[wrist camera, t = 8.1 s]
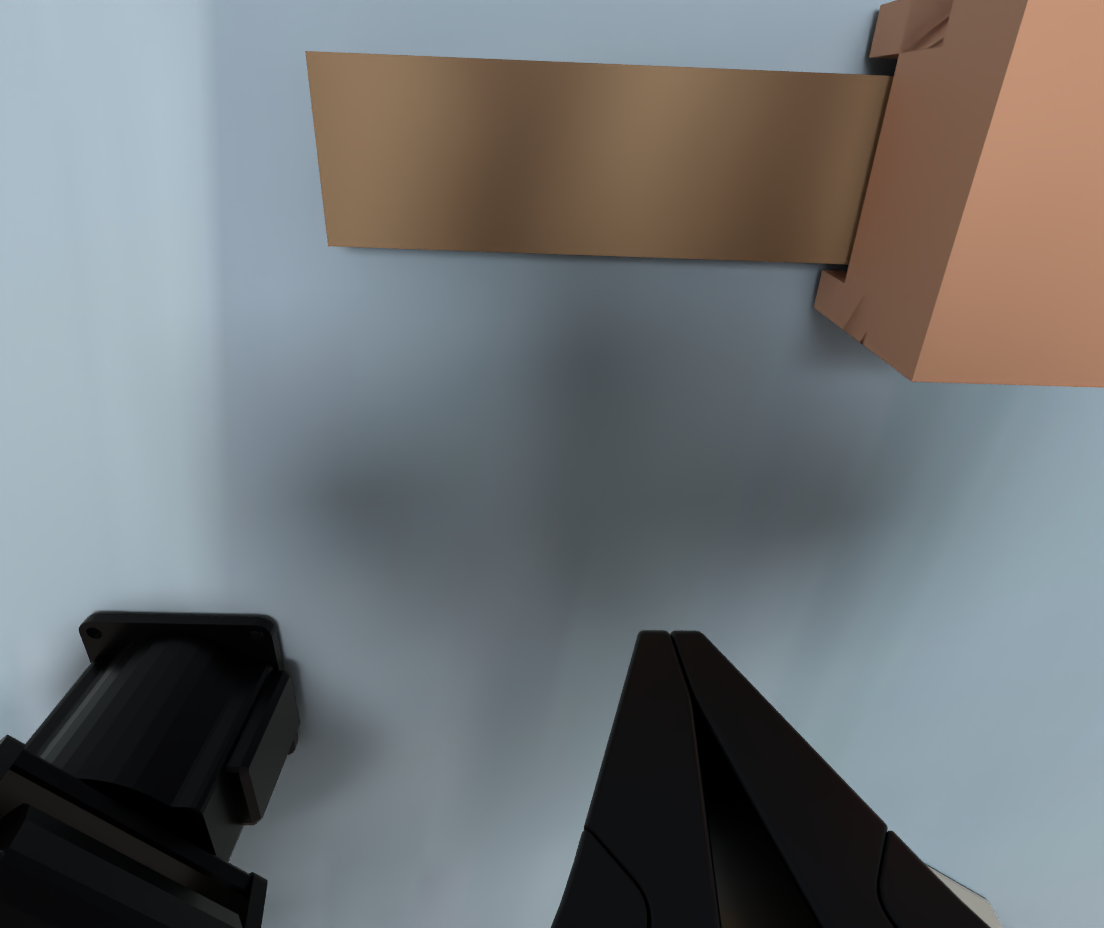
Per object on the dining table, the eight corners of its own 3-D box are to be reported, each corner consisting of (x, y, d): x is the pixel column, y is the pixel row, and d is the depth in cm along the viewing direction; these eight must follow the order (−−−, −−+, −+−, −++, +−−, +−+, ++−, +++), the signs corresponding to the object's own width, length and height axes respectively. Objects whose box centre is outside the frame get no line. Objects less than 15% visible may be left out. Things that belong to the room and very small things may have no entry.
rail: (350, 293, 18) (288, 353, 14) (317, -24, 15) (221, -78, 10) (1075, 317, 19) (1239, 382, 14) (1198, 16, 15) (1461, -20, 11)
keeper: (813, 307, 18) (911, 381, 13) (880, 5, 15) (1040, -43, 10) (995, 313, 18) (1158, 389, 13) (1100, 15, 15) (1362, -27, 10)
